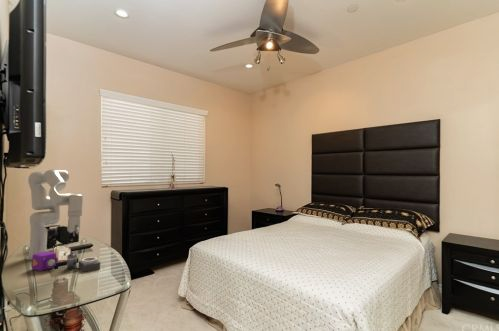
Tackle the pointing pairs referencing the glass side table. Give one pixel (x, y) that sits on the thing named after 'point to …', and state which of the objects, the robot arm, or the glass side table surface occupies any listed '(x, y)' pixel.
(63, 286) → the glass side table surface
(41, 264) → the toy camera
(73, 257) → the lens
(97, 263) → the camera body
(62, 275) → the glass side table surface
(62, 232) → the movie camera
